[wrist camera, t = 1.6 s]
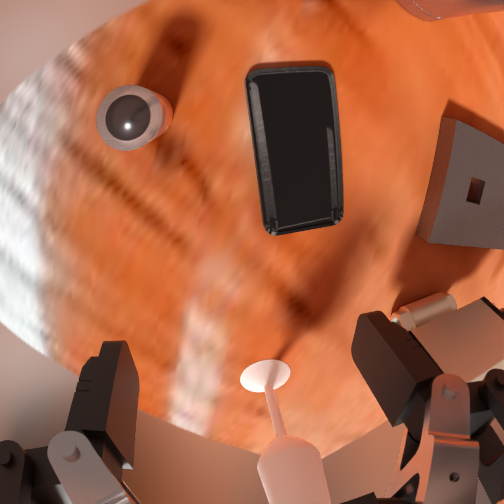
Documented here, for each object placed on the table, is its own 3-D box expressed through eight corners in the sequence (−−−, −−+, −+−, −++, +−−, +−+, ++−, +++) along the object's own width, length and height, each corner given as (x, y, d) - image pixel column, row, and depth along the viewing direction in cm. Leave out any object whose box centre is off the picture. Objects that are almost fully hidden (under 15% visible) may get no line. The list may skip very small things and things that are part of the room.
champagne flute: (287, 389, 40) (338, 544, 19) (239, 394, 39) (273, 559, 17) (293, 356, 37) (360, 533, 16) (240, 361, 36) (283, 553, 15)
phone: (265, 237, 28) (243, 70, 21) (263, 232, 29) (242, 72, 22) (344, 223, 29) (334, 66, 22) (339, 219, 30) (329, 67, 23)
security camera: (357, 351, 39) (416, 455, 23) (360, 304, 35) (439, 417, 19) (454, 313, 40) (520, 386, 24) (464, 267, 36) (547, 340, 20)
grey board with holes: (441, 116, 26) (456, 119, 24) (531, 164, 31) (542, 168, 28) (415, 234, 32) (428, 243, 30) (510, 244, 37) (520, 251, 34)
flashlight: (128, 92, 21) (98, 86, 14) (175, 92, 22) (164, 84, 15) (125, 138, 23) (94, 151, 16) (171, 139, 24) (158, 151, 17)
